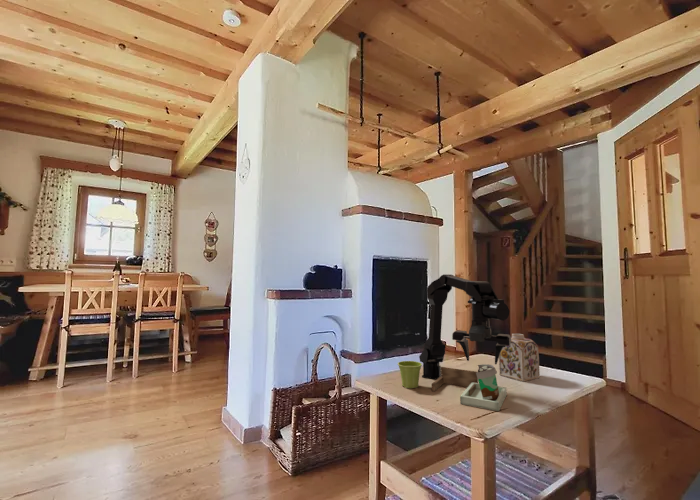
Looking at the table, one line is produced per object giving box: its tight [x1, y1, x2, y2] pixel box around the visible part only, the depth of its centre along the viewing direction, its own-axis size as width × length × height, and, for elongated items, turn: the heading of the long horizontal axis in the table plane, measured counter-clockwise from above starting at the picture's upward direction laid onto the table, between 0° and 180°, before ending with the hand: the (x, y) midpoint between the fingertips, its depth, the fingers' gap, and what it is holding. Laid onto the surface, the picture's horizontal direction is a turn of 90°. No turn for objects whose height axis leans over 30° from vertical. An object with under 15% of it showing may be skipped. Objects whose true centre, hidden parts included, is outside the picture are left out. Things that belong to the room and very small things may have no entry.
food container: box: [476, 363, 499, 401], centre depth 120 cm, size 12×6×10 cm, turn 157°
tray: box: [459, 382, 508, 412], centre depth 121 cm, size 12×18×3 cm, turn 149°
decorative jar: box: [498, 333, 541, 383], centre depth 149 cm, size 12×12×18 cm
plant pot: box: [397, 360, 423, 389], centre depth 135 cm, size 9×9×9 cm
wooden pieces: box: [431, 366, 479, 396], centre depth 131 cm, size 14×13×6 cm
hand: (481, 362), depth 121 cm, fingers open, 9 cm apart
